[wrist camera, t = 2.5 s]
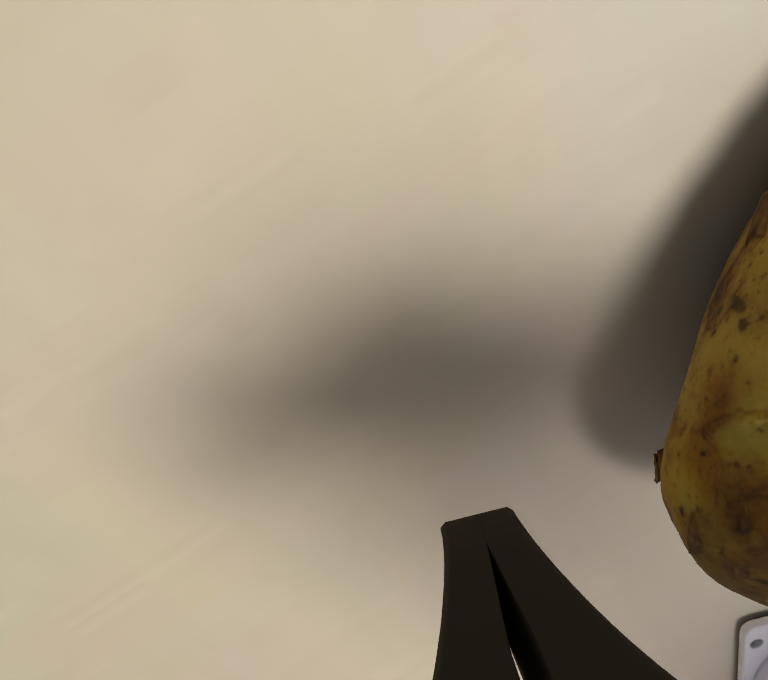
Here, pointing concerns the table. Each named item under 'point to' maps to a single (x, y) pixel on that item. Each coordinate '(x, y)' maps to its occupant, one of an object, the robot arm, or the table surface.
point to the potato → (726, 426)
